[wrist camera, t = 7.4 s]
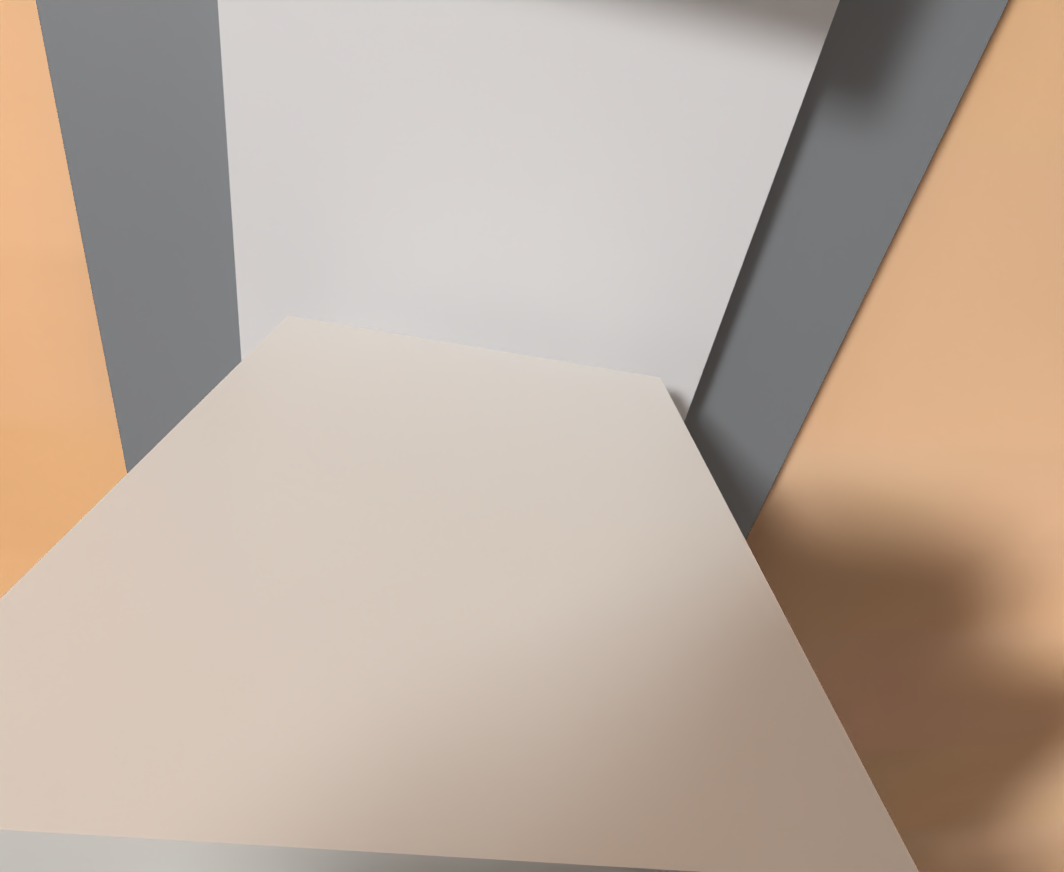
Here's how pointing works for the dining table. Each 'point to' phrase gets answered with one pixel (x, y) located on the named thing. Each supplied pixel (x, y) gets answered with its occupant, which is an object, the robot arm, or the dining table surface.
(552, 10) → the rail board
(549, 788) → the block
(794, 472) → the dining table surface
